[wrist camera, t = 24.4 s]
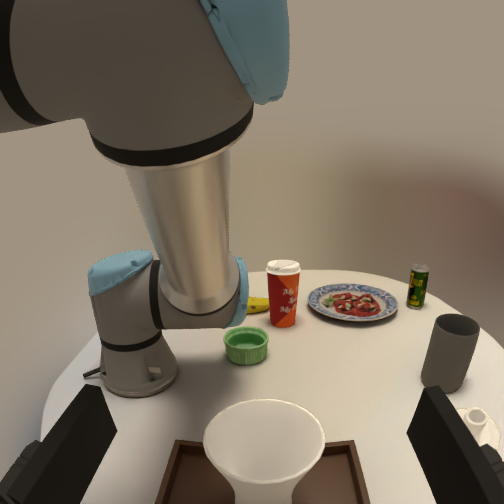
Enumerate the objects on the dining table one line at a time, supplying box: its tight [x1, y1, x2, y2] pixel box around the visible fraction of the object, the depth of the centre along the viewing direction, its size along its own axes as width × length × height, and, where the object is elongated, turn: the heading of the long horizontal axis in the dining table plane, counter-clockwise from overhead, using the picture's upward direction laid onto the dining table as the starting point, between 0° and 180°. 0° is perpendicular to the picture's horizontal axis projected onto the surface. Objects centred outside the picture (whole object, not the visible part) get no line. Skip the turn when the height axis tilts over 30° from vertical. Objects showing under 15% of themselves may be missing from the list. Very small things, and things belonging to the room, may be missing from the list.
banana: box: [247, 297, 269, 313], centre depth 85 cm, size 5×17×15 cm
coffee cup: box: [266, 260, 301, 328], centre depth 73 cm, size 8×8×15 cm
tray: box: [155, 440, 370, 504], centre depth 26 cm, size 24×17×3 cm
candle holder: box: [456, 408, 500, 450], centre depth 30 cm, size 12×12×4 cm
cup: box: [203, 399, 325, 504], centre depth 24 cm, size 10×10×14 cm
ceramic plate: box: [307, 284, 398, 321], centre depth 81 cm, size 26×26×3 cm
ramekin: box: [223, 327, 269, 365], centre depth 60 cm, size 9×9×4 cm
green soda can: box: [406, 264, 429, 309], centre depth 77 cm, size 5×5×12 cm
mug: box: [421, 314, 480, 393], centre depth 45 cm, size 14×9×12 cm
